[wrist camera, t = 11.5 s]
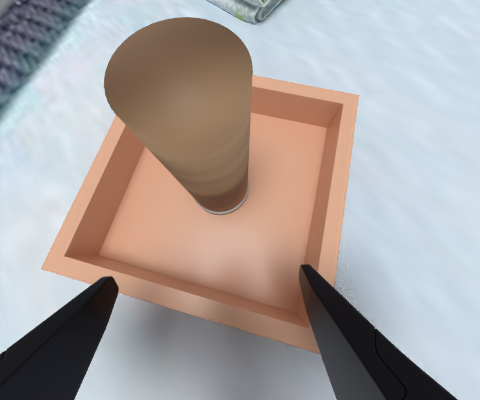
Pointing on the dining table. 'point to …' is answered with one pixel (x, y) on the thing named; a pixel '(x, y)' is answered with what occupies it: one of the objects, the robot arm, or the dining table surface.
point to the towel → (247, 8)
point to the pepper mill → (188, 105)
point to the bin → (222, 218)
